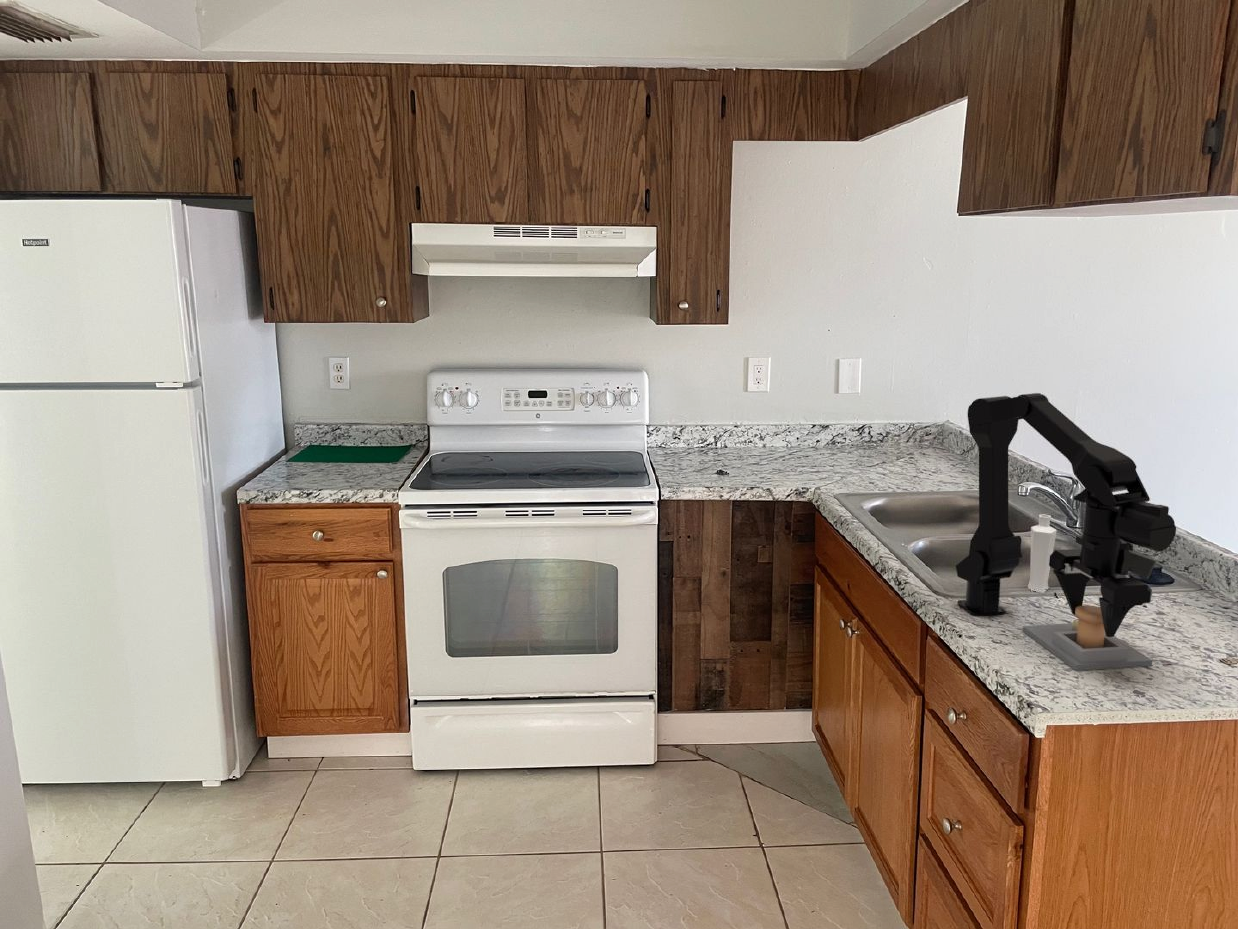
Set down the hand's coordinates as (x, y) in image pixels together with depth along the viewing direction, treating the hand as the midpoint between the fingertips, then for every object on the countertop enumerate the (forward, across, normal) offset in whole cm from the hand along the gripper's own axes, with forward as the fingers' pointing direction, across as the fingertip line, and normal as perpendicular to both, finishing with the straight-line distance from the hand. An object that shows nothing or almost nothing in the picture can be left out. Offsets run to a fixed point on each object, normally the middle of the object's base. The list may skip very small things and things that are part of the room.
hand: (1092, 625), depth 155 cm
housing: (+6, +4, -2) cm, 7 cm away
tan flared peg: (+5, 0, 0) cm, 5 cm away
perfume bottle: (+6, +31, -9) cm, 32 cm away
